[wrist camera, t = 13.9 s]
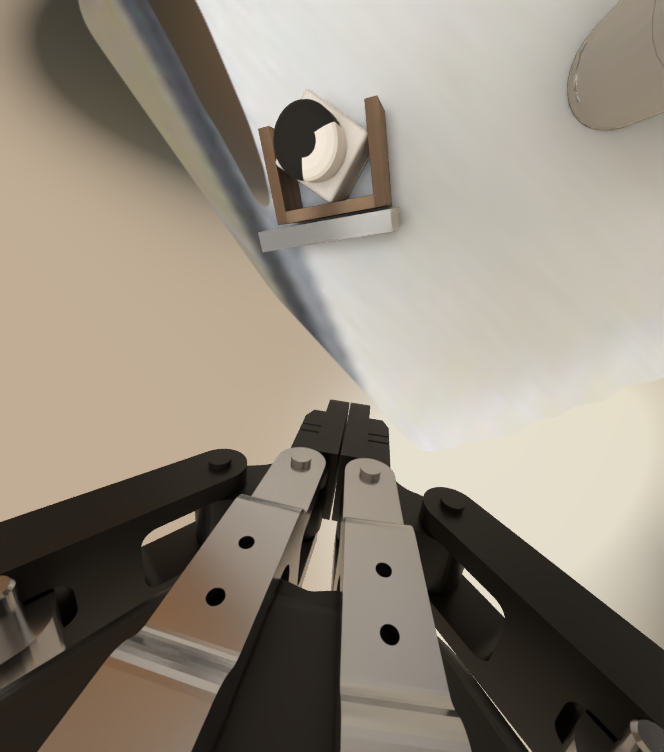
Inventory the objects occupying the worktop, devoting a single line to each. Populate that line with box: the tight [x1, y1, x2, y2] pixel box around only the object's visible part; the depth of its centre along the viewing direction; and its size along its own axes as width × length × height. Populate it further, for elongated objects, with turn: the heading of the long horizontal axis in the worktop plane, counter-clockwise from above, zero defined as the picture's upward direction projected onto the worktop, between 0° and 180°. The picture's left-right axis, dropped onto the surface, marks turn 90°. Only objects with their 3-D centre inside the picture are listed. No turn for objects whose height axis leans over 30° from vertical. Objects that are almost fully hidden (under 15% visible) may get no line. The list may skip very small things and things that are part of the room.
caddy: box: [258, 96, 392, 225], centre depth 37 cm, size 12×9×6 cm
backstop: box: [258, 208, 400, 252], centre depth 38 cm, size 14×2×10 cm, turn 99°
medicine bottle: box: [273, 89, 370, 202], centre depth 34 cm, size 7×7×12 cm
